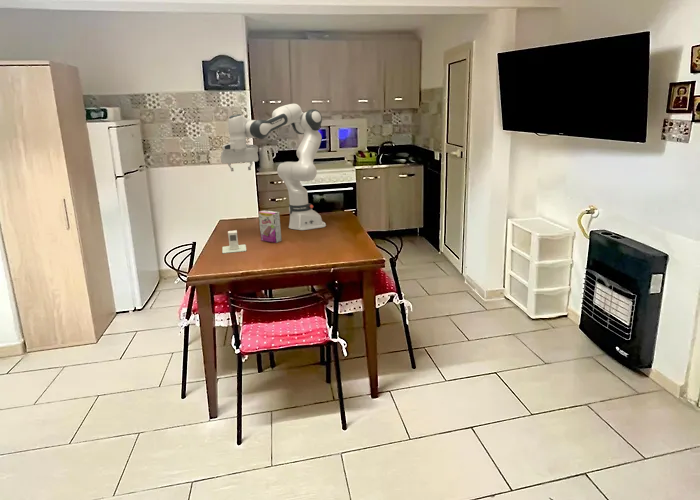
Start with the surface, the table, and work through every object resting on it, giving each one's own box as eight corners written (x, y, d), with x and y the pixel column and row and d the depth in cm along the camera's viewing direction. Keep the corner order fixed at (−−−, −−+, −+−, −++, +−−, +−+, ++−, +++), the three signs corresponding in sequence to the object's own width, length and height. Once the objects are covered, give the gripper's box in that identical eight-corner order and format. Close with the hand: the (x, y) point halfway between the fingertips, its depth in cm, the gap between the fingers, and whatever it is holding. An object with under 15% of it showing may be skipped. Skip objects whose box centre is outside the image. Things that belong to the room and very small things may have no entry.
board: (245, 245, 260) (245, 244, 260) (246, 251, 249) (246, 250, 249) (222, 247, 258) (222, 246, 258) (222, 253, 247) (222, 252, 246)
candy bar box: (260, 241, 267) (257, 211, 262) (266, 238, 271) (263, 210, 266) (276, 243, 262) (273, 213, 257) (282, 241, 266) (279, 211, 261)
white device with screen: (238, 246, 256) (236, 230, 254) (238, 249, 252) (236, 232, 249) (229, 247, 255) (227, 231, 253) (229, 250, 251) (227, 233, 248)
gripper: (257, 143, 271) (259, 168, 275) (219, 145, 266) (222, 171, 270) (258, 144, 265) (260, 170, 269) (219, 146, 261) (222, 172, 265)
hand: (241, 170), depth 270 cm, fingers open, 8 cm apart
